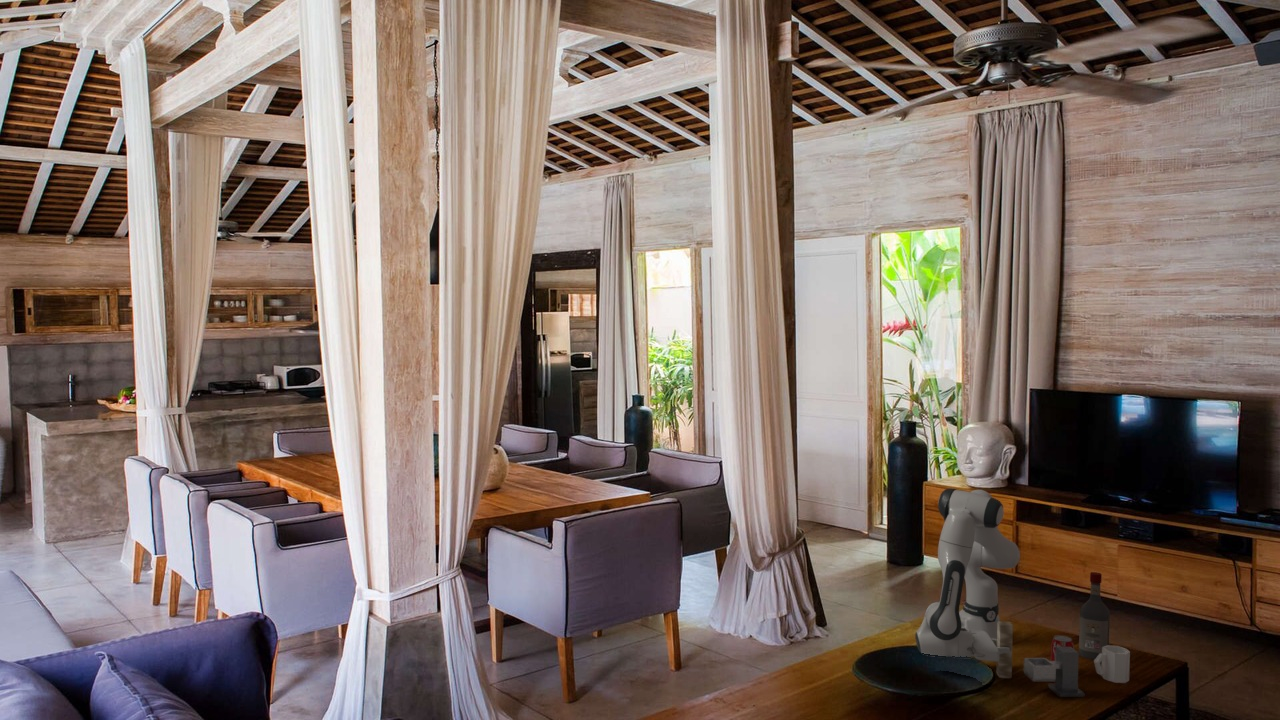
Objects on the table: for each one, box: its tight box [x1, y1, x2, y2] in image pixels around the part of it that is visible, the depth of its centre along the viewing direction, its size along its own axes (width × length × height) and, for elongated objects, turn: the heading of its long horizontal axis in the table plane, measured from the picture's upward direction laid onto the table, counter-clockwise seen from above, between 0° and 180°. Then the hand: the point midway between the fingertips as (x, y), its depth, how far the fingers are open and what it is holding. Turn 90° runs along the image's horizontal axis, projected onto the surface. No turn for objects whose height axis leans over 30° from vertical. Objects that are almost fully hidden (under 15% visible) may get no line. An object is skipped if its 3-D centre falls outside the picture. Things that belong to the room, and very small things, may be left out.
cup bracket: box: [1023, 647, 1085, 698], centre depth 307 cm, size 17×8×14 cm, turn 92°
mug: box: [1093, 644, 1131, 684], centre depth 318 cm, size 12×9×10 cm
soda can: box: [1050, 634, 1075, 661], centre depth 324 cm, size 7×7×12 cm
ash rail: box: [995, 620, 1014, 679], centre depth 321 cm, size 4×4×18 cm
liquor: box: [1078, 571, 1111, 661], centre depth 339 cm, size 9×9×30 cm
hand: (1007, 646), depth 320 cm, fingers open, 5 cm apart
